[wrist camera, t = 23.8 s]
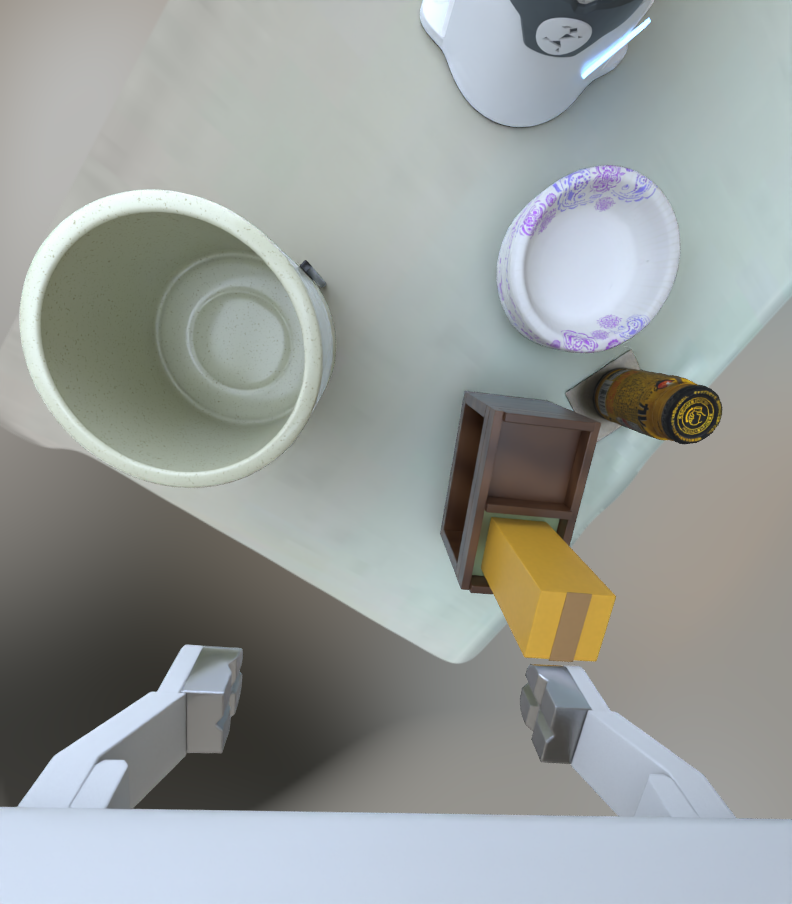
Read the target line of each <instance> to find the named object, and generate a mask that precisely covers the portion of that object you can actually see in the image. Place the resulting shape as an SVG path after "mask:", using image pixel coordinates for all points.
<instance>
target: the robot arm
mask: <svg viewBox="0 0 792 904" xmlns="http://www.w3.org/2000/svg"><path fill="white" fill-rule="evenodd" d="M653 2H654V0H423V2H422V5H421V9H420V20H421V23H422V25H423V27H424V29H425V30H426V32H427V33H428V34H429V36H430V37H431V38H432V39H433V40H434V41H435V43H436V44H437V45H438V46H439V47H440V48H441V49H442V51H443V53H444V55H445V57H446V59H447V62H448V65H449V68H450V70H451V73H452V76H453V78H454V80H455V82H456V84H457V86H458V88H459V89H460V91H461V93H462V94H463V96H464V97H465V98H466V100H467V101H468V102H469V103H470V104H471V105H472V106H473V107H474V108H475V109H476V110H477V111H478V112H480V113H481V114H482V115H484V116H485V117H487V118H488V119H490V120H492V121H494V122H497V123H499V124H503V125H506V126H512V127H529V126H534V125H538V124H542V123H544V122H547V121H549V120H551V119H553V118H554V117H556V116H558V115H559V114H561V113H562V112H563V111H565V110H566V109H567V108H568V107H569V106H570V105H571V104H572V103H573V102H574V101H575V100H576V99H577V98H578V96H579V95H580V94H581V93H582V92H583V90H584V89H585V88H586V87H587V86H588V85H589V84H590V83H591V82H592V81H593V80H595V79H597V78H599V77H600V76H602V75H604V74H606V73H608V72H609V71H611V70H612V69H614V68H615V67H616V66H617V65H618V64H619V63H620V61H621V60H622V59H623V57H624V56H625V54H626V51H627V47H628V41H630V40H631V39H632V38H633V37H634V36H636V35H637V34H638V33H639V32H640V31H642V30H643V29H644V28H645V27H646V26H647V25H648V24H649V23H650V22H651V21H650V19H649V18H648V19H647V20H646V21H644V22H643V23H642V24H641V25H640V26H638V27H637V28H636V29H635V30H634V31H633V29H634V28H635V27H636V25H637V24H638V23H639V21H640V20H641V19H642V17H643V16H644V15H645V13H646V12H647V11H648V9H649V8H650V7H651V5H652V3H653ZM242 662H243V650H242V649H240V648H228V647H214V646H197V645H185V646H184V647H183V648H182V649H181V650H180V652H179V654H178V656H177V657H176V659H175V661H174V663H173V664H172V666H171V668H170V670H169V671H168V673H167V675H166V677H165V679H164V680H163V682H162V684H161V686H160V687H159V690H158V691H157V692H150V693H149V694H147V695H145V696H144V697H142V698H141V699H139V700H138V701H136V702H135V703H133V704H132V705H130V706H129V707H127V708H126V709H124V710H123V711H121V712H120V713H118V714H117V715H115V716H114V717H112V718H111V719H110V720H108V721H106V722H105V723H103V724H102V725H100V726H99V727H97V728H96V729H94V730H93V731H92V732H90V733H88V734H87V735H85V736H83V737H82V738H80V739H79V740H77V741H76V742H74V743H73V744H71V745H70V746H68V747H67V748H65V749H64V750H62V751H61V752H59V753H58V754H56V755H55V756H54V757H53V758H52V759H51V761H50V762H49V763H48V765H47V766H46V768H45V769H44V771H43V772H42V773H41V775H40V776H39V777H38V779H37V780H36V782H35V783H34V785H33V786H32V787H31V788H30V790H29V791H28V793H27V794H26V795H25V797H24V798H23V800H22V801H21V802H20V804H19V805H18V807H0V904H792V819H752V818H736V817H735V815H734V814H733V813H732V812H731V810H730V809H729V808H728V806H727V805H726V804H725V802H724V801H723V800H722V798H721V797H720V796H719V794H718V793H717V792H716V790H715V789H714V788H713V786H712V785H711V784H710V782H709V781H708V780H707V779H706V777H705V776H704V775H703V774H702V773H701V772H699V771H698V770H696V769H695V768H694V767H692V766H691V765H690V764H688V763H687V762H685V761H684V760H683V759H681V758H679V757H678V756H677V755H676V754H674V753H673V752H672V751H670V750H669V749H667V748H666V747H665V746H663V745H662V744H660V743H659V742H657V741H656V740H655V739H653V738H652V737H651V736H649V735H648V734H646V733H645V732H644V731H642V730H641V729H639V728H638V727H637V726H635V725H634V724H633V723H631V722H630V721H628V720H627V719H626V718H624V717H623V716H621V715H620V714H618V713H617V712H612V711H611V710H610V709H609V707H608V706H607V704H606V703H605V701H604V700H603V698H602V697H601V695H600V694H599V692H598V690H597V689H596V687H595V686H594V684H593V683H592V681H591V680H590V678H589V677H588V675H587V674H586V672H585V671H584V669H583V668H582V667H580V666H567V665H563V666H558V665H536V664H530V665H529V667H528V668H527V671H526V678H527V680H528V683H527V684H526V685H525V686H524V687H523V688H522V691H521V696H520V709H521V713H522V717H523V720H524V722H525V725H526V726H528V728H530V729H531V730H532V731H533V735H532V742H533V744H534V747H535V749H536V752H537V754H538V756H539V759H540V761H541V762H547V763H562V764H563V763H564V764H571V766H572V767H573V768H574V770H575V771H576V772H577V773H578V774H579V775H580V776H581V777H582V778H583V779H584V780H585V781H586V782H587V783H588V784H589V785H590V787H591V788H592V789H593V790H594V791H595V792H596V793H597V794H598V795H599V796H600V797H601V798H602V799H603V800H604V801H605V802H606V803H607V804H608V806H609V807H610V808H611V809H612V810H613V811H614V812H615V813H616V814H617V815H618V816H548V815H491V814H489V815H488V814H429V813H428V814H427V813H361V812H295V811H230V810H229V811H226V810H225V811H224V810H162V809H158V810H157V809H133V808H134V807H135V806H136V805H137V804H138V803H139V802H140V801H141V800H142V799H143V798H144V797H145V796H146V795H147V794H148V793H149V792H150V790H152V789H153V788H154V787H155V786H156V785H157V784H158V783H159V781H161V780H162V779H163V778H164V777H165V776H166V775H167V774H168V772H170V771H171V770H172V769H173V768H174V767H175V766H176V765H177V763H178V762H179V761H181V759H182V758H184V757H185V755H186V753H222V751H223V748H224V745H225V742H226V739H227V736H228V733H229V730H230V717H231V716H232V715H234V714H235V711H236V708H237V705H238V701H239V696H240V692H241V684H242V674H241V673H240V671H239V670H240V667H241V665H242Z"/></svg>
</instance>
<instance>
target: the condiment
mask: <svg viewBox="0 0 792 904" xmlns="http://www.w3.org/2000/svg"><path fill="white" fill-rule="evenodd" d="M565 394H566V396H567V398H568V400H569V402H570V404H571V406H572V408H573V409H574V411H575V412H576V413H579V414H581V415H583V416H586V417H588V418H591V419H593V420H596V421H598V422H600V423H601V427H600V430H599V434H598V438H597V442H598V441H599V440H601V439H602V438H604V437H605V436H607V435H609V434H610V433H612V432H613V431H615V430H617V429H618V428H620V427H621V426H624V427H627V428H630V429H632V430H635V431H637V432H639V433H642V434H645V435H648V436H650V437H653V438H656V439H659V440H671V441H675V442H678V443H679V444H690V443H697V442H699V441H701V440H703V439H705V438H706V437H708V436H709V435H710V434H712V433H713V431H714V430H715V428H716V427H717V425H718V424H719V422H720V419H721V415H722V404H721V402H720V399H719V396H718V395H717V394H716V393H715V392H714V391H713V390H712V389H710V388H708V387H706V386H703V385H697V384H695V383H693V382H692V381H690V380H688V379H686V378H681V377H679V376H674V375H665V374H662V373H654V372H648V371H643V370H641V369H640V367H639V364H638V362H637V360H636V357H635V355H634V353H633V351H632V349H631V350H630V351H628V352H627V353H625V354H623V355H622V356H620V357H619V358H617V359H616V360H614V361H613V362H611V363H609V364H608V365H606V366H605V367H604V368H602V369H601V370H599V371H598V372H596V373H595V374H594V375H592V376H591V377H589V378H587V379H586V380H584V381H583V382H581V383H579V384H578V385H577V386H575V387H574V388H573V389H571V390H569V391H568V392H566V393H565Z"/></svg>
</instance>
